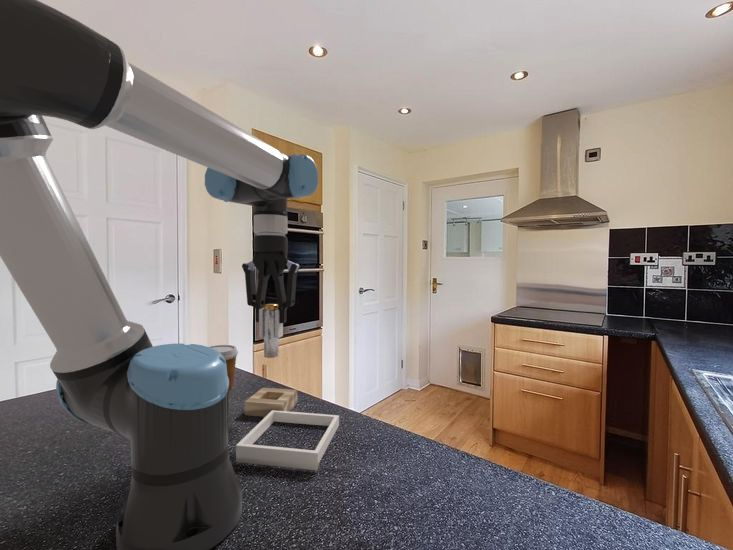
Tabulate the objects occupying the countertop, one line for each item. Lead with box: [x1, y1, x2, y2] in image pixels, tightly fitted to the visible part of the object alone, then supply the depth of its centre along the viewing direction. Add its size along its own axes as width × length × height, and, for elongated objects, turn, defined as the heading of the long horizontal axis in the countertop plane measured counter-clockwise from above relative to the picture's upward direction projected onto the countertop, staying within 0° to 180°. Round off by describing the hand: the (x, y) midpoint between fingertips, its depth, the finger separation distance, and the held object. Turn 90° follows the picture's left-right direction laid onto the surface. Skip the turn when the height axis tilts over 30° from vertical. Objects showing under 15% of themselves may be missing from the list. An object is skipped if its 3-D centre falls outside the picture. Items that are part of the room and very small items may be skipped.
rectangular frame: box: [235, 410, 340, 471], centre depth 69 cm, size 15×15×3 cm
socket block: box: [244, 387, 298, 418], centre depth 84 cm, size 9×9×4 cm
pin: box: [263, 303, 279, 359], centre depth 83 cm, size 3×3×12 cm
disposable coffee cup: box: [209, 344, 239, 392], centre depth 96 cm, size 10×10×12 cm
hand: (271, 336), depth 83 cm, fingers closed on pin, 3 cm apart
